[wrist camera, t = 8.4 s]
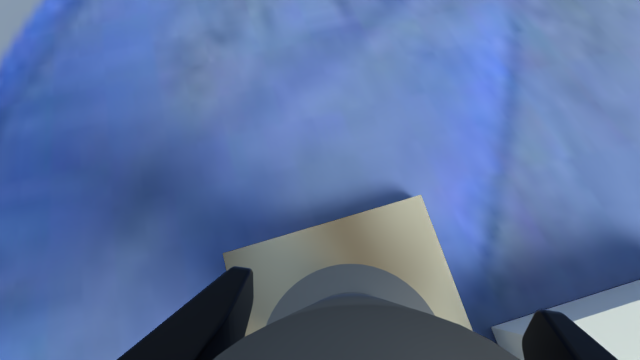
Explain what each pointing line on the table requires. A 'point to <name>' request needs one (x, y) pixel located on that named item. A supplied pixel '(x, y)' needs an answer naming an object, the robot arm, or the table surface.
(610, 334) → the socket block
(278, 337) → the plug
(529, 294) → the table surface
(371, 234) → the birch board
